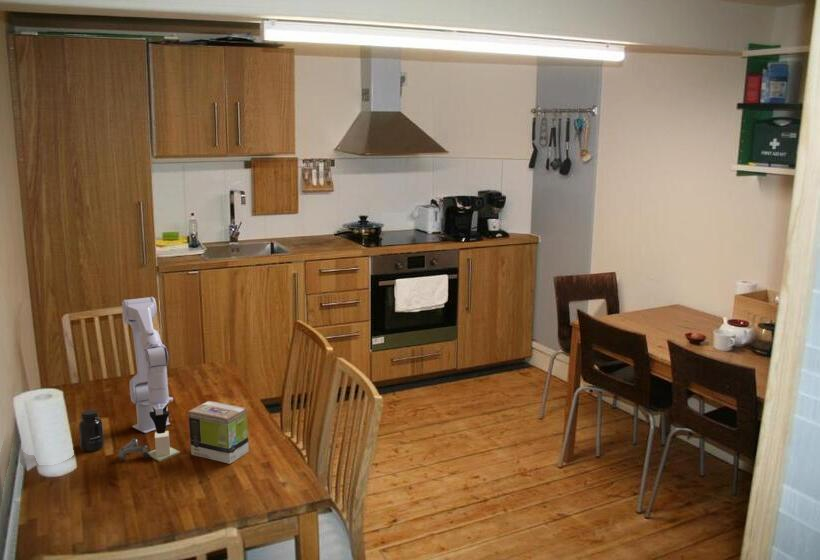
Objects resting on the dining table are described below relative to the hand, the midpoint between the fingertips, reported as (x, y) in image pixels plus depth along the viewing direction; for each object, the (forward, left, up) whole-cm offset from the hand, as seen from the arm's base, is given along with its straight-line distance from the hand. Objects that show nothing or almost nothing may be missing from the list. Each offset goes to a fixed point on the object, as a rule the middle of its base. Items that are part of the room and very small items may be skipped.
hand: (161, 427), depth 227 cm
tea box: (-11, +13, -9) cm, 20 cm away
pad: (0, 0, -9) cm, 9 cm away
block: (0, 0, -8) cm, 8 cm away
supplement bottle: (+11, -21, -9) cm, 25 cm away
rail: (+7, -6, -9) cm, 13 cm away
